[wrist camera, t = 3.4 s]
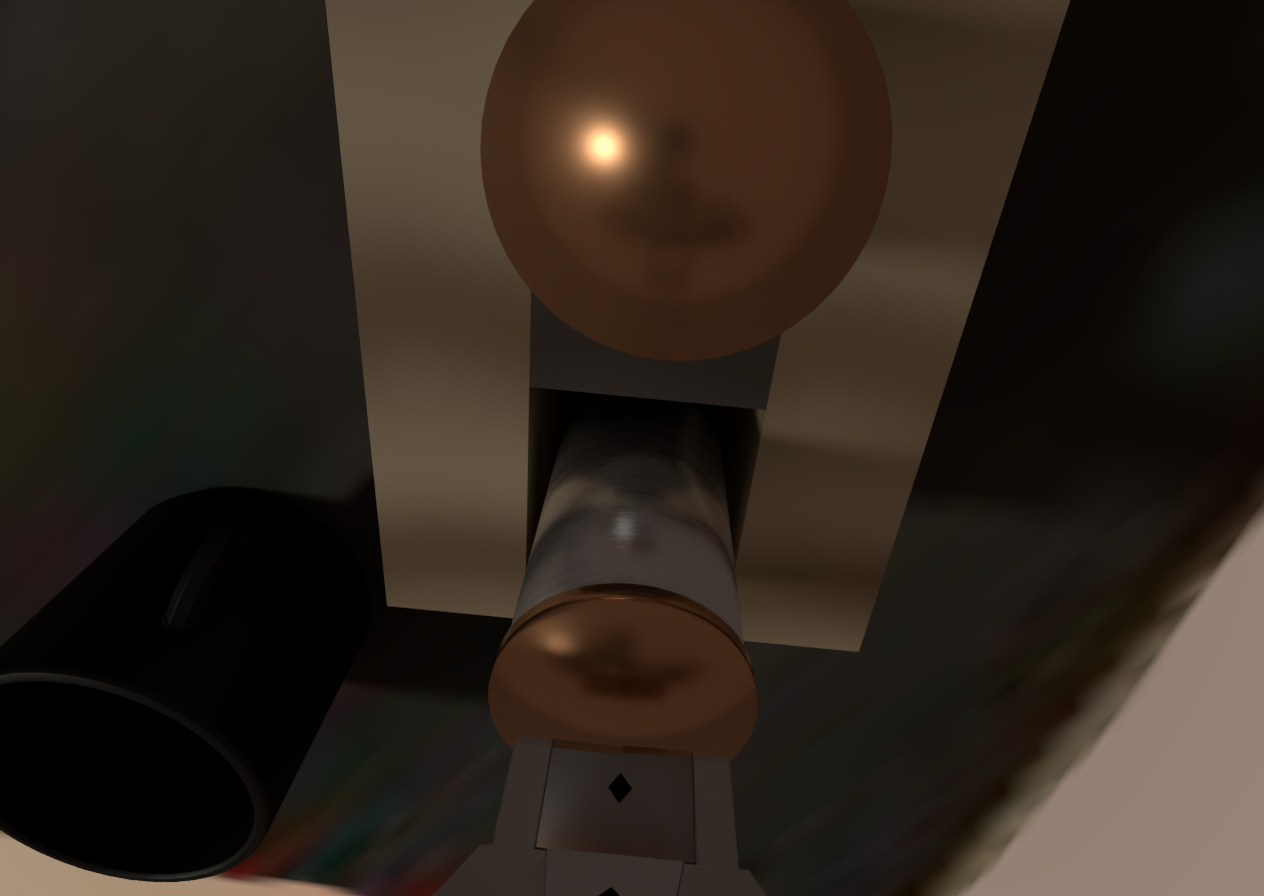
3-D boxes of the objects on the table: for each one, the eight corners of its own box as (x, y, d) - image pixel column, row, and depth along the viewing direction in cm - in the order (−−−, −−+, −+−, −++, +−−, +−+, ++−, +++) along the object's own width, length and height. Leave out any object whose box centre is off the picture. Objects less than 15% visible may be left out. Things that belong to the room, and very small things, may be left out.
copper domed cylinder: (573, -36, 13) (477, -99, 7) (809, -13, 13) (946, -53, 7) (563, 207, 15) (483, 342, 9) (767, 227, 15) (839, 377, 9)
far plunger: (557, 377, 17) (486, 592, 11) (738, 394, 17) (780, 620, 11) (551, 525, 19) (489, 782, 13) (713, 540, 19) (734, 805, 13)
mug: (428, 499, 27) (328, 694, 19) (336, 700, 32) (229, 916, 24) (167, 385, 25) (-64, 549, 17) (115, 619, 31) (-78, 824, 23)
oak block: (446, -126, 18) (302, -224, 11) (942, -77, 18) (1116, -143, 11) (463, 449, 26) (387, 606, 19) (808, 483, 26) (858, 651, 19)
